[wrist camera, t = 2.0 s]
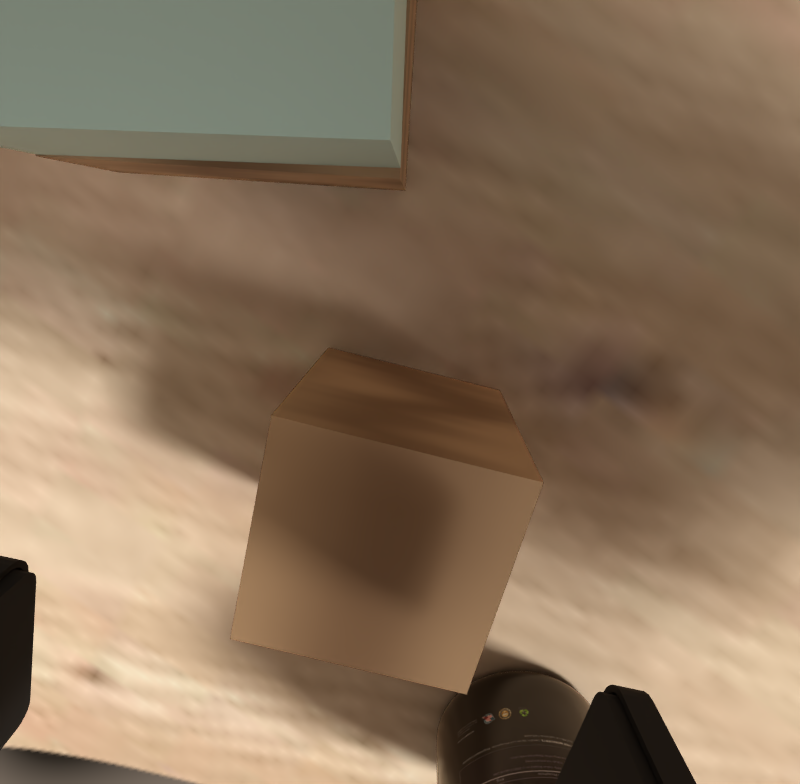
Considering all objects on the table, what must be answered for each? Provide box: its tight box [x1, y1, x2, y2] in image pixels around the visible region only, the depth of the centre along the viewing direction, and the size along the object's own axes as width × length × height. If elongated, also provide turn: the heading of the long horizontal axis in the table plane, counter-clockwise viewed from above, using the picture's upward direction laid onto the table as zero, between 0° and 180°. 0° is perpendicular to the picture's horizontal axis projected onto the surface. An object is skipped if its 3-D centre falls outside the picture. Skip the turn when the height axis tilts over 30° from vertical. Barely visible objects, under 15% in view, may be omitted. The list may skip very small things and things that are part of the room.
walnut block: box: [230, 348, 544, 695], centre depth 15 cm, size 6×6×7 cm
